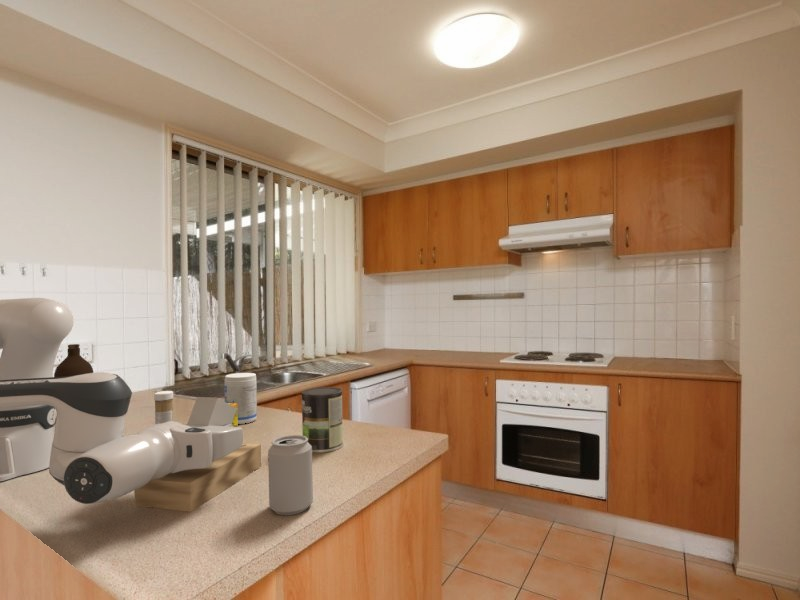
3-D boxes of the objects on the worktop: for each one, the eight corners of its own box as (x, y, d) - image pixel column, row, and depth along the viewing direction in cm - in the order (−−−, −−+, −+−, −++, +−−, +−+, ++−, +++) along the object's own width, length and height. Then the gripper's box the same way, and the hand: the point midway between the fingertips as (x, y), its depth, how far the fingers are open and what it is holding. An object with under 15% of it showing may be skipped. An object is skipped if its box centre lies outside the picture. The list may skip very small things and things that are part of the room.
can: (295, 494, 83) (294, 430, 83) (321, 505, 78) (320, 437, 79) (260, 509, 77) (259, 440, 77) (286, 521, 73) (285, 448, 73)
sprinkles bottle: (175, 438, 122) (174, 389, 122) (172, 443, 118) (171, 392, 118) (156, 440, 121) (155, 391, 121) (153, 445, 116) (152, 394, 116)
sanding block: (200, 448, 85) (217, 397, 90) (179, 446, 86) (196, 396, 91) (221, 456, 91) (236, 408, 96) (201, 454, 92) (216, 407, 97)
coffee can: (308, 455, 105) (307, 396, 105) (297, 444, 114) (296, 389, 114) (349, 448, 110) (348, 391, 110) (335, 438, 119) (334, 385, 119)
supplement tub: (218, 423, 137) (217, 376, 137) (241, 416, 146) (241, 371, 146) (240, 426, 133) (239, 377, 133) (263, 419, 141) (262, 373, 141)
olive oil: (47, 424, 142) (46, 346, 142) (64, 416, 152) (63, 344, 152) (85, 421, 144) (84, 345, 144) (99, 414, 154) (98, 342, 155)
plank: (190, 511, 77) (190, 482, 77) (134, 505, 80) (134, 477, 80) (261, 466, 98) (260, 443, 98) (214, 463, 101) (214, 441, 101)
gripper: (120, 461, 82) (175, 439, 96) (214, 468, 77) (259, 444, 91) (120, 427, 83) (175, 410, 96) (213, 432, 77) (258, 413, 91)
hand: (216, 427), depth 93 cm, fingers closed on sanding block, 5 cm apart
